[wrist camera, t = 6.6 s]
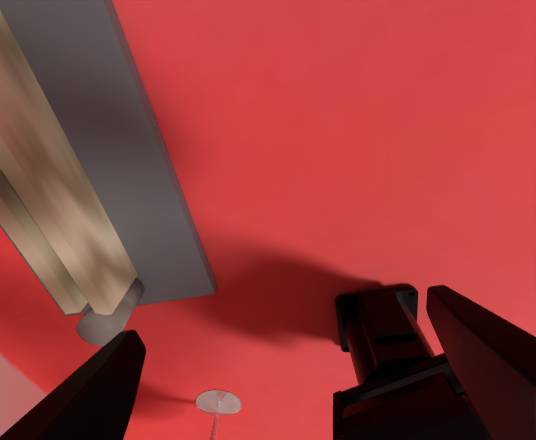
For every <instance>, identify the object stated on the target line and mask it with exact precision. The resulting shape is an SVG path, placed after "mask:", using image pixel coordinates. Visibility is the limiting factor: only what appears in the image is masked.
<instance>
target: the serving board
mask: <svg viewBox="0 0 536 440" xmlns="http://www.w3.org/2000/svg"><path fill="white" fill-rule="evenodd" d="M0 10H1V12H2V14H3V16H4V18H5V20H6V22H7V24H8V26H9V28H10V29H11V31H12V33H13V35H14V37H15V39H16V41H17V43H18V45H19V47H20V49H21V51H22V53H23V54H24V56H25V58H26V60H27V62H28V64H29V66H30V68H31V70H32V72H33V74H34V76H35V78H36V79H37V81H38V83H39V85H40V87H41V89H42V91H43V93H44V95H45V97H46V99H47V101H48V103H49V104H50V106H51V108H52V110H53V112H54V114H55V116H56V118H57V120H58V122H59V124H60V126H61V128H62V129H63V131H64V133H65V135H66V137H67V139H68V141H69V143H70V145H71V147H72V149H73V151H74V153H75V154H76V156H77V158H78V160H79V162H80V164H81V166H82V168H83V170H84V172H85V174H86V176H87V178H88V179H89V181H90V183H91V185H92V187H93V189H94V191H95V193H96V195H97V197H98V199H99V201H100V203H101V204H102V206H103V208H104V210H105V212H106V214H107V216H108V218H109V220H110V222H111V224H112V226H113V228H114V229H115V231H116V233H117V235H118V237H119V239H120V241H121V243H122V245H123V247H124V249H125V251H126V253H127V254H128V256H129V258H130V260H131V262H132V264H133V266H134V268H135V270H136V272H137V274H138V275H137V277H136V278H138V279H139V280H140V281H141V282H142V284H143V285H144V293H143V295H142V297H141V299H140V301H139V302H138V304H137V306H139V305H146V304H152V303H159V302H166V301H173V300H180V299H186V298H193V297H200V296H207V295H213V294H215V292H216V288H217V285H216V282H215V279H214V276H213V274H212V271H211V268H210V266H209V263H208V260H207V257H206V255H205V252H204V249H203V247H202V244H201V241H200V238H199V236H198V233H197V230H196V228H195V225H194V222H193V219H192V217H191V214H190V211H189V209H188V206H187V203H186V200H185V198H184V195H183V192H182V190H181V187H180V184H179V181H178V179H177V176H176V173H175V171H174V168H173V165H172V162H171V160H170V157H169V154H168V152H167V149H166V146H165V143H164V141H163V138H162V135H161V133H160V130H159V127H158V124H157V122H156V119H155V116H154V114H153V111H152V108H151V105H150V103H149V100H148V97H147V95H146V92H145V89H144V86H143V84H142V81H141V78H140V76H139V73H138V70H137V67H136V65H135V62H134V59H133V57H132V54H131V51H130V48H129V46H128V43H127V40H126V38H125V35H124V32H123V29H122V27H121V24H120V21H119V19H118V16H117V13H116V10H115V8H114V5H113V2H112V0H0ZM0 227H1V228H2V230H3V231H4V232H5V234H6V235H7V237H8V238H9V239H10V241H11V242H12V243H13V245H14V246H15V248H16V249H17V250H18V252H19V253H20V254H21V256H22V257H23V258H24V260H25V261H26V263H27V264H28V265H29V267H30V268H31V269H32V271H33V272H34V274H35V275H36V276H37V278H38V279H39V280H40V278H39V277H38V275H37V274H36V273H35V271H34V270H33V268H32V267H31V266H30V264H29V263H28V262H27V260H26V259H25V257H24V256H23V255H22V253H21V252H20V251H19V249H18V248H17V246H16V245H15V244H14V242H13V241H12V239H11V238H10V237H9V235H8V234H7V233H6V231H5V230H4V228H3V227H2V226H1V224H0ZM40 282H41V283H42V285H43V286H44V287H45V289H46V290H47V291H48V289H47V288H46V286H45V285H44V284H43V282H42V281H41V280H40ZM48 293H49V294H50V296H51V297H52V298H53V296H52V295H51V293H50V292H49V291H48ZM53 300H54V301H55V302H56V300H55V299H54V298H53ZM56 304H57V305H58V307H59V308H60V309H61V307H60V306H59V304H58V303H57V302H56ZM90 307H91V306H90V304H89V303H87V304H86V305H85V307H84V308H83V309H82V310H81V312H78V313H71V314H65V313H64V311H63V310H62V309H61V311H62V312H63V313H64V315H65V316H71V315H78V314H85V313H86V312H87V311H88V310H89V308H90Z"/></svg>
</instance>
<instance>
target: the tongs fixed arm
mask: <svg viewBox="0 0 536 440" xmlns="http://www.w3.org/2000/svg"><path fill="white" fill-rule="evenodd" d="M0 169H1V170H2V172H3V173H4V175H5V176H6V178H7V179H8V181H9V182H10V184H11V185H12V187H13V188H14V190H15V191H16V193H17V194H18V196H19V198H20V199H21V201H22V202H23V204H24V205H25V207H26V208H27V210H28V211H29V213H30V214H31V216H32V217H33V219H34V220H35V222H36V223H37V225H38V226H39V228H40V229H41V231H42V233H43V234H44V236H45V237H46V239H47V240H48V242H49V243H50V245H51V246H52V248H53V249H54V251H55V252H56V254H57V255H58V257H59V258H60V260H61V261H62V263H63V264H64V266H65V268H66V269H67V271H68V272H69V274H70V275H71V277H72V278H73V280H74V281H75V283H76V284H77V286H78V287H79V289H80V290H81V292H82V293H83V295H84V296H85V298H86V299H87V301H88V303H89V304H90V306H91V307H90V308H89V310H88V311H87V312H86V313H85V315H84V316H83V317H82V319H81V320H80V321H79V323H78V324H77V327H76V329H77V333H78V334H79V336H80V337H81V338H82V339H83V340H84V341H86V342H88V343H90V344H92V345H96V346H105V345H106V344H107V343H108V342H109V341H110V340H111V339H113V338H114V337H115V336H116V335H117V334H118V333H120V332H121V331H122V330H123V329H124V327H125V325H126V323H127V322H128V320H129V318H130V316H131V315H132V313H133V311H134V309H135V308H136V306H137V304H138V302H139V301H140V299H141V297H142V295H143V293H144V285H143V284H142V282H141V281H140V280H139V279H138V278H136V277H137V275H138V274H137V272H136V270H135V268H134V266H133V264H132V262H131V260H130V258H129V256H128V254H127V253H126V251H125V249H124V247H123V245H122V243H121V241H120V239H119V237H118V235H117V233H116V231H115V229H114V228H113V226H112V224H111V222H110V220H109V218H108V216H107V214H106V212H105V210H104V208H103V206H102V204H101V203H100V201H99V199H98V197H97V195H96V193H95V191H94V189H93V187H92V185H91V183H90V181H89V179H88V178H87V176H86V174H85V172H84V170H83V168H82V166H81V164H80V162H79V160H78V158H77V156H76V154H75V153H74V151H73V149H72V147H71V145H70V143H69V141H68V139H67V137H66V135H65V133H64V131H63V129H62V128H61V126H60V124H59V122H58V120H57V118H56V116H55V114H54V112H53V110H52V108H51V106H50V104H49V103H48V101H47V99H46V97H45V95H44V93H43V91H42V89H41V87H40V85H39V83H38V81H37V79H36V78H35V76H34V74H33V72H32V70H31V68H30V66H29V64H28V62H27V60H26V58H25V56H24V54H23V53H22V51H21V49H20V47H19V45H18V43H17V41H16V39H15V37H14V35H13V33H12V31H11V29H10V28H9V26H8V24H7V22H6V20H5V18H4V16H3V14H2V12H1V10H0Z"/></svg>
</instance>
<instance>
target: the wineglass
mask: <svg viewBox="0 0 536 440" xmlns="http://www.w3.org/2000/svg"><path fill="white" fill-rule="evenodd" d="M196 405H197V407H198V408H199V409H200V410H201V411H202V412H204V413H206V414H208V415H211V416H215V417H214V422H213V427H212V431H211V436H210V440H216V432H217V424H218V417H225V416H230V415H233V414H235V413H237V412H238V411H239V410H240V408H241V401H240V400H239V398H238V397H237V396H235V395H234V394H232V393H229V392H227V391H221V390H210V391H206V392H204V393H202V394H200V395H199V396H198V397H197V398H196Z"/></svg>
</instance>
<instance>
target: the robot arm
mask: <svg viewBox="0 0 536 440" xmlns="http://www.w3.org/2000/svg"><path fill="white" fill-rule="evenodd" d="M410 292H411V293H410ZM340 302H342V303H340ZM335 307H336V315H337V322H338V330H339V338H340V346H341V350H342V351H343V352H350V354H351V358H352V362H353V366H354V369H355V373H356V377H357V381H358V384H359V385H358V386H355V387H353V388H350V389H347V390H345V391H342V392H341V391H338V392H335V393H333V440H536V337H535V336H533V335H531V334H530V333H528V332H526V331H524V330H523V329H521V328H519V327H517V326H515V325H514V324H512V323H510V322H508V321H507V320H505V319H503V318H501V317H500V316H498V315H496V314H494V313H493V312H491V311H489V310H487V309H486V308H484V307H482V306H480V305H479V304H477V303H475V302H473V301H472V300H470V299H468V298H466V297H465V296H463V295H461V294H459V293H457V292H456V291H454V290H452V289H450V288H449V287H447V286H445V285H438V286H431V287H429V288H428V290H427V305H426V309H427V314H428V317H429V319H430V321H431V323H432V326H433V328H434V330H435V332H436V335H437V337H438V339H439V341H440V343H441V346H442V348H443V350H444V352H445V353H442V354H440V355H437V356H435V354H434V352H433V351H432V349H431V347H430V345H429V343H428V342H427V340H426V338H425V336H424V334H423V333H422V331H421V329H420V327H419V325H418V324H417V307H418V291H417V290H416V288H415V287H413V286H407V287H400V288H393V289H385V290H378V291H371V292H364V293H357V294H350V295H343V296H338V297H337V298H336V299H335ZM145 355H146V348H145V345H144V343H143V342H142V340H141V338H140V337H139V335H138V333H137V332H136V331H135V330H126V331H121V332H120V333H118V334H117V335H116V336H115V337H114V338H113V339H111V340H110V341H109V342H108V343H107V344H106V345H105V346H103V347H102V348H101V349H100V350H99V351H98V352H97V353H95V354H94V355H93V356H92V357H91V358H90V359H89V360H87V361H86V362H85V363H84V364H83V365H82V366H81V367H79V368H78V369H77V370H76V371H75V372H74V373H73V374H71V375H70V376H69V377H68V378H67V379H66V380H65V381H63V382H62V383H61V384H60V385H59V386H58V387H57V388H55V389H54V390H53V391H52V392H51V393H50V394H49V395H47V396H46V397H45V398H44V399H43V400H42V401H40V402H39V403H38V404H37V405H36V406H35V407H34V408H33V409H31V410H30V411H29V412H28V413H27V414H26V415H24V416H23V417H22V418H21V419H20V420H19V421H18V422H16V424H14V425H13V426H12V427H11V428H10V429H8V430H7V431H6V432H5V433H4V434H3V435H2V436H0V440H123V438H124V435H125V432H126V429H127V426H128V423H129V420H130V417H131V413H132V410H133V407H134V403H135V399H136V395H137V391H138V386H139V382H140V377H141V373H142V368H143V364H144V359H145Z"/></svg>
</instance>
